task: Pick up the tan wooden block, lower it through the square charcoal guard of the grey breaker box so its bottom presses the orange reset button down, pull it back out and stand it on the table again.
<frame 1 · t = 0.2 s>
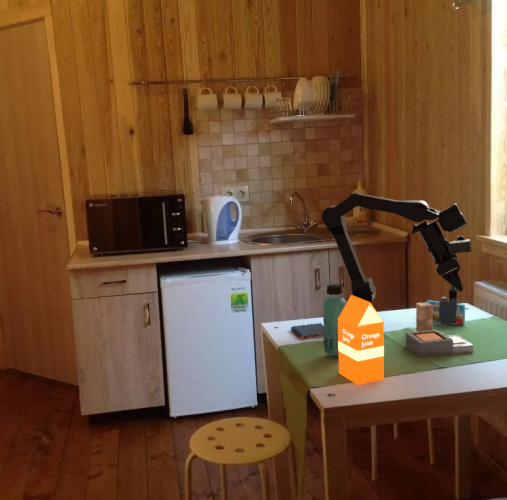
hand: (460, 287, 182), 14 cm above the table, tool tilted 30°, fingers open, 9 cm apart
orange juice: (361, 376, 157), on the table
reset button: (429, 339, 173), point 3 cm above the table, slide at 0.0 cm
woven mat: (311, 335, 193), on the table
tan wooden block: (424, 333, 188), on the table
breaker box: (439, 349, 174), on the table
beverage bottle: (335, 357, 171), on the table
vaping device: (447, 323, 196), on the table, touching yogurt
yogurt: (444, 322, 198), on the table, touching vaping device
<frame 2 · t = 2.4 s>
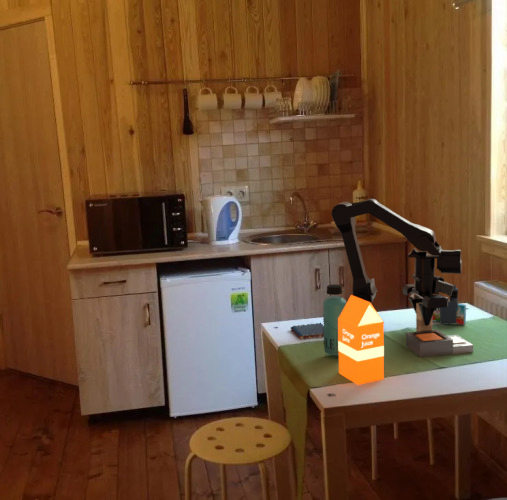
hand: (424, 323, 187), 3 cm above the table, tool pointing down, fingers closed on tan wooden block, 3 cm apart
tan wooden block: (424, 333, 188), on the table, touching gripper
everything else where it was.
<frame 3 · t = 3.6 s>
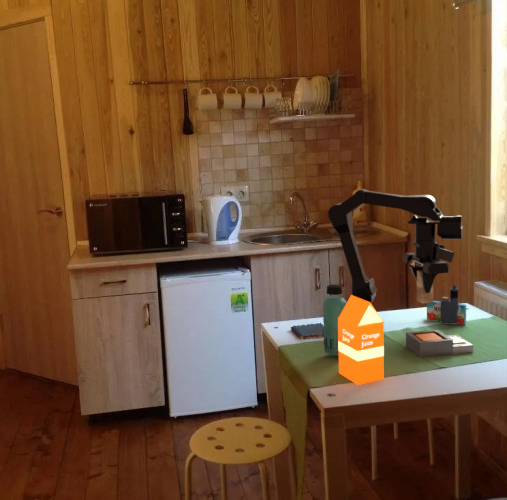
hand: (424, 291, 185), 13 cm above the table, tool pointing down, fingers closed on tan wooden block, 3 cm apart
tan wooden block: (424, 301, 186), point 10 cm above the table, touching gripper
everything else where it was.
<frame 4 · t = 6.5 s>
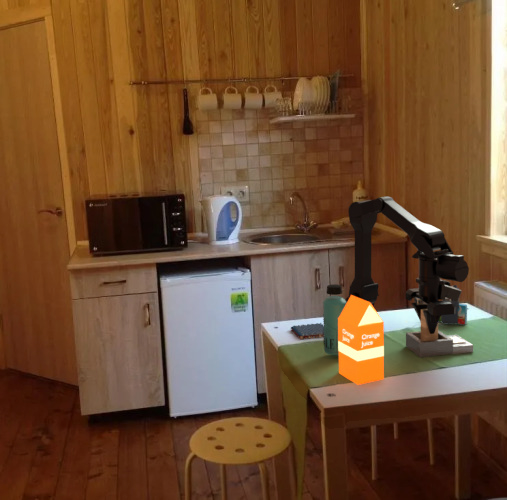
hand: (428, 331, 173), 5 cm above the table, tool pointing down, fingers closed on tan wooden block, 3 cm apart
reset button: (429, 344, 173), point 2 cm above the table, slide at 1.5 cm, touching tan wooden block
tan wooden block: (429, 342, 173), point 2 cm above the table, touching gripper, reset button
everything else where it was.
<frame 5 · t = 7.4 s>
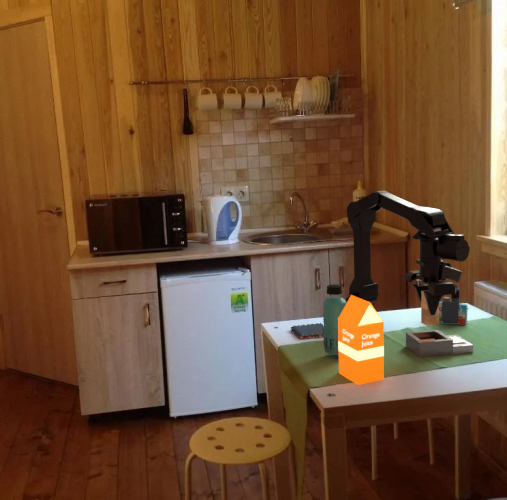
hand: (429, 313, 172), 11 cm above the table, tool pointing down, fingers closed on tan wooden block, 3 cm apart
reset button: (429, 344, 173), point 1 cm above the table, slide at 1.6 cm
tan wooden block: (430, 323, 172), point 8 cm above the table, touching gripper
everything else where it was.
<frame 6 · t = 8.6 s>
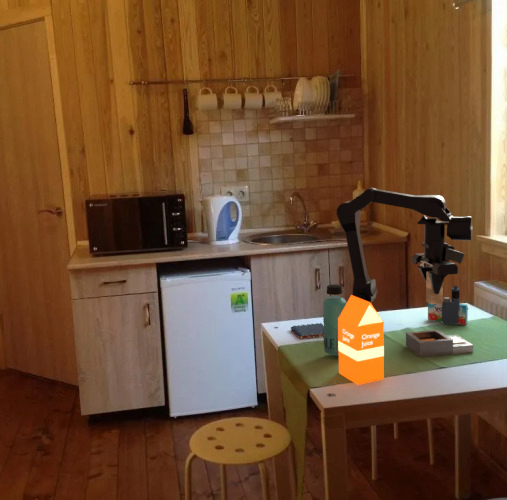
hand: (433, 292, 184), 13 cm above the table, tool pointing down, fingers closed on tan wooden block, 3 cm apart
tan wooden block: (434, 302, 184), point 10 cm above the table, touching gripper
everything else where it was.
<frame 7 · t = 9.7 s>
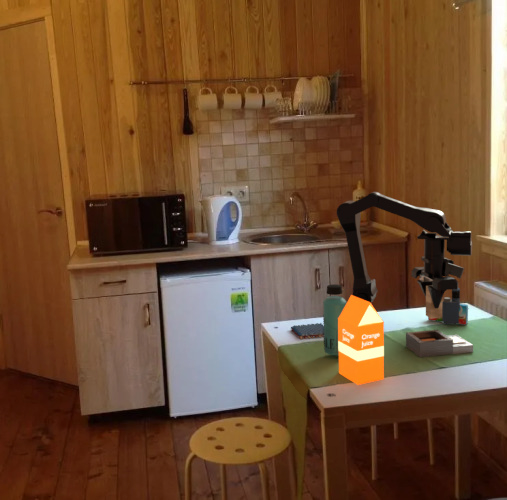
hand: (433, 306, 185), 9 cm above the table, tool pointing down, fingers closed on tan wooden block, 3 cm apart
tan wooden block: (433, 316, 185), point 6 cm above the table, touching gripper
everything else where it was.
when the fingers open (4 cm above the table, at t = 11.0 s): tan wooden block stays where it is, on the table.
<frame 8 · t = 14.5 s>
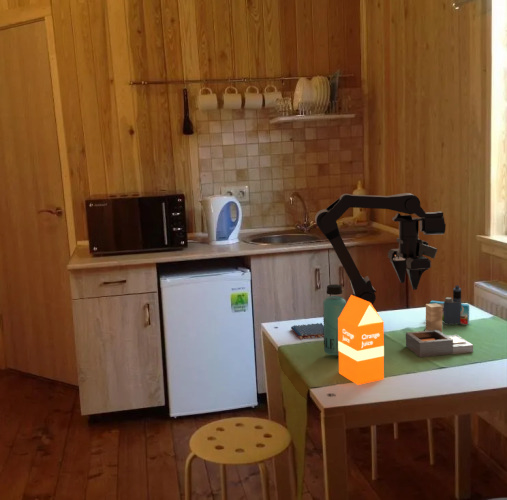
hand: (408, 286, 192), 13 cm above the table, tool pointing down, fingers open, 9 cm apart
tan wooden block: (433, 334, 186), on the table
at the end: reset button slide at 1.6 cm; tan wooden block inside the target area (0.1 cm from its centre), on the table; tan wooden block tilted 0° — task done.
